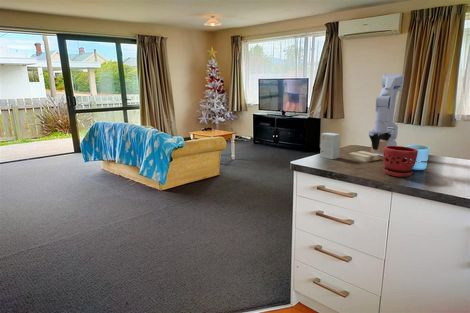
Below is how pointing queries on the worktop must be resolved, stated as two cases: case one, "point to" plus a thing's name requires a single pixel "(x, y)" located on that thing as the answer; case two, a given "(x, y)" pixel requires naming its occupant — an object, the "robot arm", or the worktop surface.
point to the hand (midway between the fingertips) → (378, 148)
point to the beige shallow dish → (364, 156)
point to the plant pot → (399, 160)
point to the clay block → (380, 147)
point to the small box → (330, 145)
